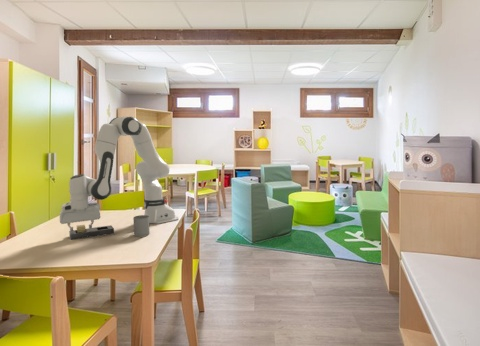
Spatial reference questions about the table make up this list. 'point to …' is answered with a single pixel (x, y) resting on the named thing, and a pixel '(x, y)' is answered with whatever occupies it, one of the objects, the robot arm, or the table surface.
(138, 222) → the cup
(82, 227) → the block
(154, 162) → the robot arm
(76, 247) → the table surface
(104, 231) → the rail
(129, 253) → the table surface
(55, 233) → the table surface
